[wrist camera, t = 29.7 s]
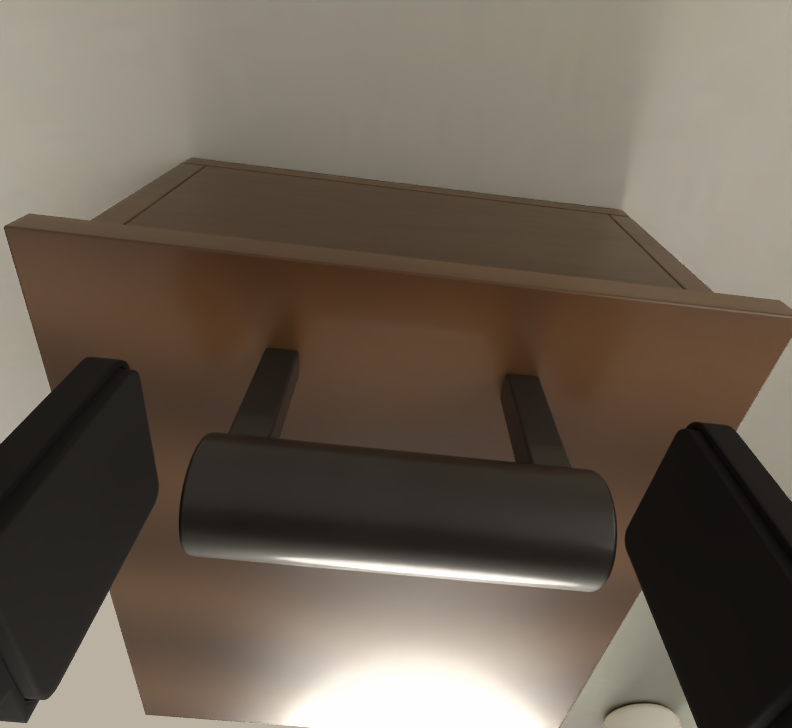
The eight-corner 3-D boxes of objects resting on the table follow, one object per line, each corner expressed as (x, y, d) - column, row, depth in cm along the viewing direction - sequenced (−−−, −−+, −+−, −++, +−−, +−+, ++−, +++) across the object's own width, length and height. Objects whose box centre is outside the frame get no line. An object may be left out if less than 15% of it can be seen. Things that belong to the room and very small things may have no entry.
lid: (28, 212, 10) (-272, 362, 6) (780, 299, 11) (1044, 496, 6) (154, 692, 20) (79, 886, 16) (545, 722, 21) (582, 918, 16)
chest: (189, 157, 18) (38, 251, 11) (622, 209, 19) (761, 333, 11) (222, 511, 28) (154, 690, 20) (509, 538, 28) (544, 721, 21)
